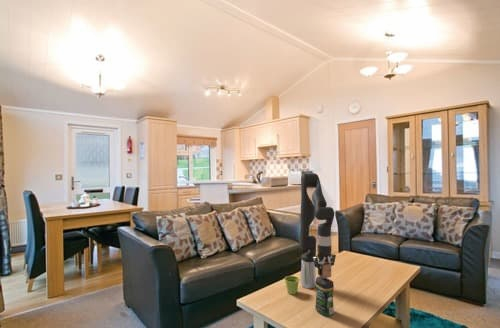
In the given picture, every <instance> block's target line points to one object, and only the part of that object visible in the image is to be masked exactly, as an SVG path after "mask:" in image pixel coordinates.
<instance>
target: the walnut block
mask: <svg viewBox="0 0 500 328" xmlns="http://www.w3.org/2000/svg"><path fill="white" fill-rule="evenodd" d="M317 275H318V277H319V276H320V275H319V274H318V273H317ZM320 277H322V278H328V279H330V278H332V266H331V264H329V263H327V262H324V264H323V265H322V276H320Z"/></svg>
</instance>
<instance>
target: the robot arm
mask: <svg viewBox="0 0 500 328" xmlns="http://www.w3.org/2000/svg"><path fill="white" fill-rule="evenodd" d="M307 188H308V189H309V188H311V189H313V188H314V191H313V192H312V195H311V198H310V196H309V194H308V189H307ZM300 193H301V195H300V197H301V198H300V199H301V200H300V227H299V228H300V229H299V235H298V237H299V238H298V244H299V245H298V246H299V249H300V250H302V251H307V252H304V253H302V254H301V257H300V258H301V261H300V262H301V265H300V266H301V269H300V284H301V287H303V288H306V289H314V288H315V289H316V284H315V283H316V278H317V277H316V275H318V274H319V275H320V276H322V265H323V264H324V262H327V263H329V264H331V267H333V266H335V261H336V254H334V253H332V243H333V242H332V226H333V222H334V219H335V210H334V208H333V207H330V206H327V205H328V204H327V201H326V200H327V199H325V196H324V193H323V190H322V184H321V181H320V178H319V175H318V174H317V173H314V172H313V173H312V172H311V173H309V172H308V173H307V172H306V173H302V174H301V176H300ZM315 219H316V220H318V221H325V222H323V223H320V224H318V225H317V238H316V236H315V235H307V232H308V229H309V227H310V226H311V224H312V223H313V221H314V220H315ZM316 271H317V272H316ZM319 275H318V276H319Z"/></svg>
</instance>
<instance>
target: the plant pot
mask: <svg viewBox="0 0 500 328" xmlns="http://www.w3.org/2000/svg"><path fill="white" fill-rule="evenodd" d="M284 281H285V285H286V292H287V293H288V294H289V295H296V294H297V293H298V287H299V283H300V281H301V278H299V277H298V276H295V275H288V276H285V277H284Z"/></svg>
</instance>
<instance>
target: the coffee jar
mask: <svg viewBox="0 0 500 328" xmlns="http://www.w3.org/2000/svg"><path fill="white" fill-rule="evenodd" d="M315 284H316V287H315V289H316V293H315V294H316V295H315V310H316V312H318V313H319V314H320V315H322V316H325V317H327V316H328V317H330V316H332V315H333V314H335V313H334V310H335V309H334V288H335V286H334V281H333V280H332V279H330V278H322V277H320V276H319V275H318V276H317V277H316V283H315Z"/></svg>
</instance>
